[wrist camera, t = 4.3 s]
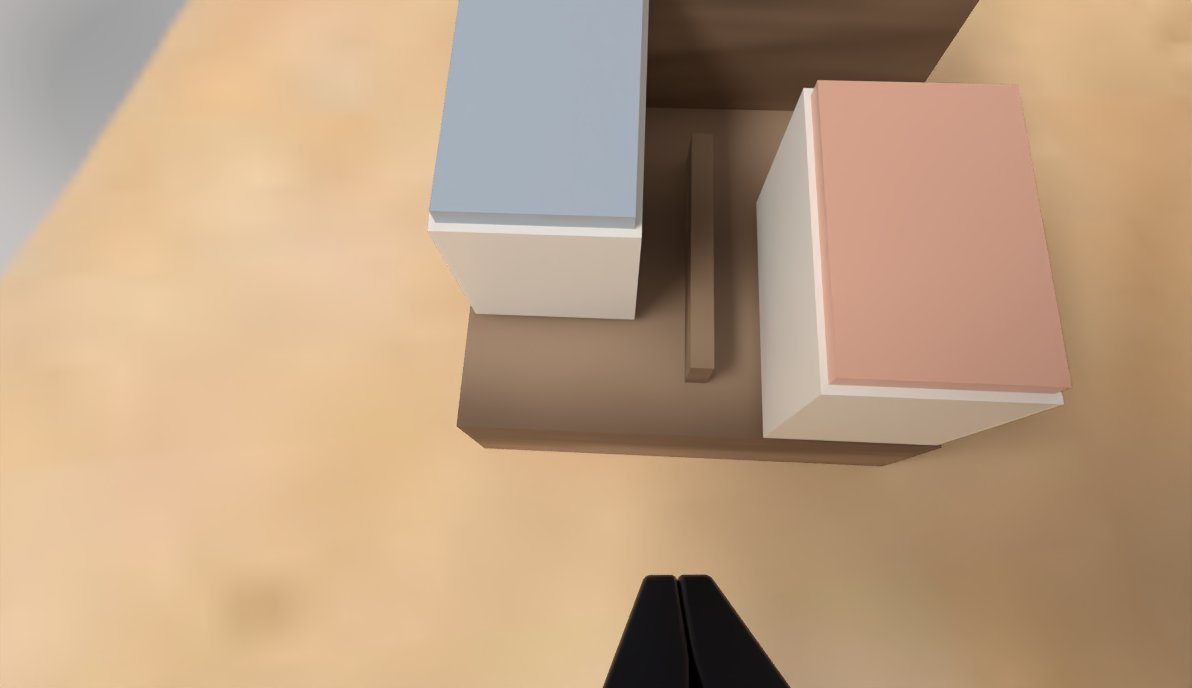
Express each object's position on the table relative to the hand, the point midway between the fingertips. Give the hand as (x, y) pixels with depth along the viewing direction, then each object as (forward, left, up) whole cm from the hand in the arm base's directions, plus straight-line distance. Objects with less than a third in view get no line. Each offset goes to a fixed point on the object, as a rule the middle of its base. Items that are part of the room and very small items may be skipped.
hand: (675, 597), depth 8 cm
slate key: (+8, -7, -8) cm, 13 cm away
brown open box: (+4, -9, -12) cm, 16 cm away
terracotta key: (-1, -9, -8) cm, 12 cm away
